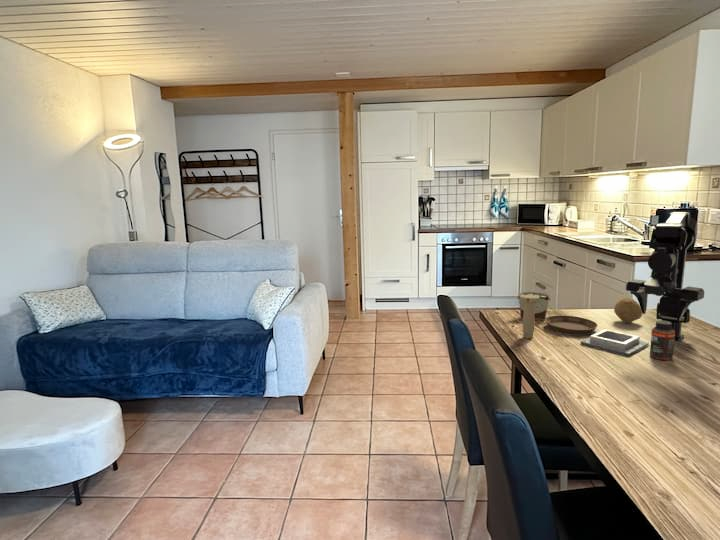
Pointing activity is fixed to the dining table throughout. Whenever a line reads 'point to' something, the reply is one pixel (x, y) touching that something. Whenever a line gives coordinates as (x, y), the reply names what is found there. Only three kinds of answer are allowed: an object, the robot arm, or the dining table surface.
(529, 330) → the handle
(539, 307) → the food container
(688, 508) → the dining table surface
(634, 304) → the natural sponge
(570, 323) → the plant saucer
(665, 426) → the dining table surface
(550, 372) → the dining table surface
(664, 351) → the supplement bottle
